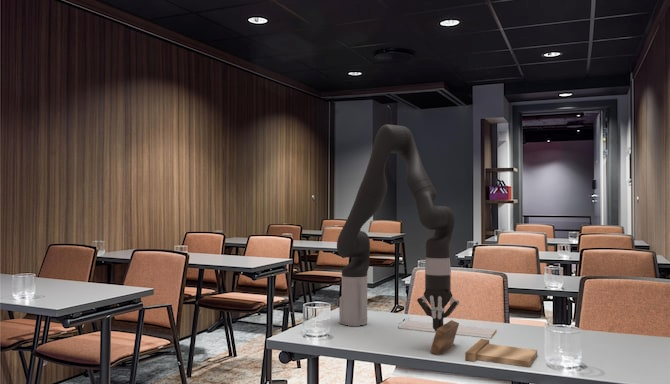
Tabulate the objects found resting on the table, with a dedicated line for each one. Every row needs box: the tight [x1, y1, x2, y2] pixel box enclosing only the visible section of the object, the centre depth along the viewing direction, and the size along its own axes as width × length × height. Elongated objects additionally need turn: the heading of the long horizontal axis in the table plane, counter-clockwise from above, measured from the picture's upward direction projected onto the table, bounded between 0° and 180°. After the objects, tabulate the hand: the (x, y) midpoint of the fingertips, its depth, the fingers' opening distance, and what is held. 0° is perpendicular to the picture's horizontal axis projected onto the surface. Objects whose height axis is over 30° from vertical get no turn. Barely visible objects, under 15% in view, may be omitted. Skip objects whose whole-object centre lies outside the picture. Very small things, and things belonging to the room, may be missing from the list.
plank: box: [429, 319, 460, 356], centre depth 160 cm, size 2×14×7 cm, turn 151°
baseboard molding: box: [398, 317, 498, 340], centre depth 183 cm, size 31×3×12 cm
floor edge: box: [464, 338, 538, 368], centre depth 152 cm, size 16×17×2 cm
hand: (438, 330), depth 161 cm, fingers closed
